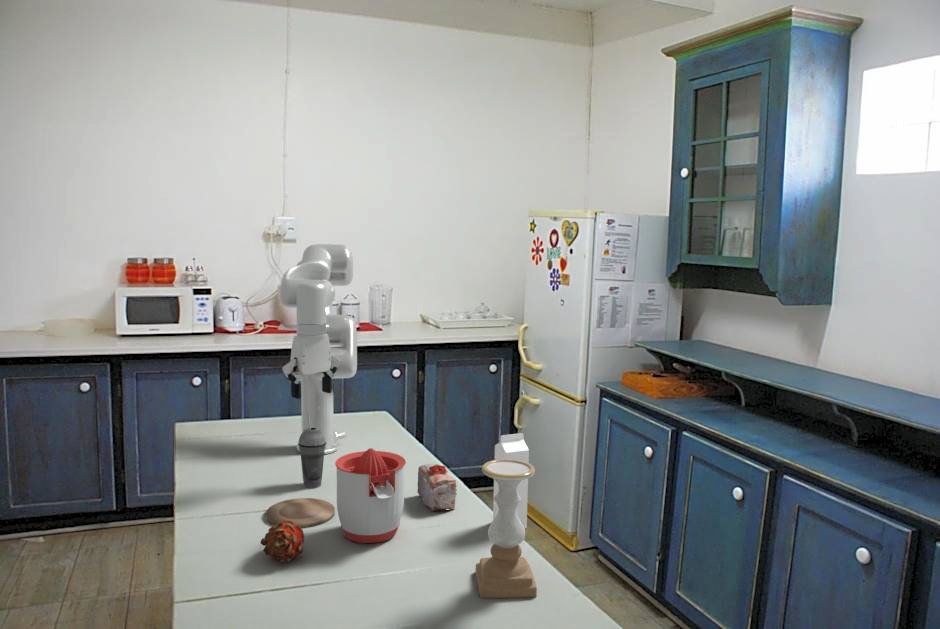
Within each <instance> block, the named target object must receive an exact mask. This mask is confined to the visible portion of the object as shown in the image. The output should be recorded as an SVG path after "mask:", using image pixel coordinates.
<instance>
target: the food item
mask: <svg viewBox="0 0 940 629" xmlns="http://www.w3.org/2000/svg"><path fill="white" fill-rule="evenodd" d="M417 471H418V472H417V493H418V495H419V496H420V497H421V498H422V504H423V503H424V504H425V505H424V504H423V505H424V506H426V507H427V508H430V510H431V511H434V510H444V511H447V510H446V509H450V510H449V511H451V510H452V509H454V510H455V507H456V498H457V480H456V479H454V478H453V477H452V476H451V475H450V474H449V473H448V472H449V471H448V470H447V468H446V466H445V465H440V464H437V463H426V464H422V465H420V466H419V467H418V470H417ZM452 511H453V510H452Z"/></svg>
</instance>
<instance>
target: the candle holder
mask: <svg viewBox="0 0 940 629" xmlns="http://www.w3.org/2000/svg"><path fill="white" fill-rule="evenodd" d="M481 470H482V473H483V474H484V475H485V476H487V477H488V478H491V479H493V480H494V479H495V480H496V482H497V483H498V485H499V491H498V493H497V495H496V496H495V497H494V496H493V499H494V500H495V502H497V505H498V507H499V511H498V514H497V515H496V517H495V519H494V520H493V519H492V522H491V523H490V525H489V526H488V530H487V536H488V538H489V541H491V543H492V546H490V554H491V557H481V558H480V559H479V563H478V562H477V563H476V564H475V571H474V572H475V579H476V584H477V591H478V594H479V598H481V599H515V598H516V599H519V598H521V599H526V598H536V597H537V594H538V593H537V592H538V590H537V589H538V587H537V584H536V580H535V578H534V575H533V572H532V568H531V567H530V563H528V561H527V559H526V557H525V556H524V557H523V556H522V553H523V550H522V548H521V546H520V544H522V543H523V542H524V540H525V538H526V530H525V529H526V528H524V527H523V525H522V523H521V521H520V520H519V518H518V516H517V513H516V508H517V506H518V503H520V502H521V498H520V496H519V495H518V493H517V486H518V484H519V483H520V482H521V480H524V479H528V480H529V478H531V477H533V476H534V474H535V472H536V470H535V467H534V466H533V464H531V463H530V462H529V463H527V462H524V461H520V460H514V459H498V460H495V459H493V460H490V461H487V462H484V464H483V465H482V467H481Z"/></svg>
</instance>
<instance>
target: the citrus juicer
mask: <svg viewBox="0 0 940 629" xmlns="http://www.w3.org/2000/svg"><path fill="white" fill-rule="evenodd" d="M406 463H407V462H406V458H404V457H403V456H402V455H400V454H397V453H395V452H394V453H393V452H389V451H384V450H382V451H380V450H376V449H374V448H372V447H370V448H368V449H367V450H364V451H356V452H350V453H348V454H344V455H342V456H340V457H338V458H336V461H335V464H334V465H335V466H336V467H335V468H336V509H337V515H338V519H339V522H340V527H341V530H342V532H343V535H344V536H345V537H346V538H347V539H348V540H350V541H353V542H356V543H358V544H374V543H380V542H384V541H388V540H390V539H392V538H393V537H395V535H396V534H397V532H398V529H399V526H400V524H401V519H402V515H403V511H404V506H405V465H406Z"/></svg>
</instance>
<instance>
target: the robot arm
mask: <svg viewBox="0 0 940 629" xmlns="http://www.w3.org/2000/svg"><path fill="white" fill-rule="evenodd" d="M353 277H354V259H353V255H352V252H351V249H350V248H349V247H348V246H346V245H345V244H333V243H332V244H331V243H330V244H329V243H328V244H326V243H325V244H324V243H316V244H311V245H309V246H307V247H306V248H305V250H304V251H303V253H302V258H301V260H300V261H299V262H297V264H296V265H295V266H293V267H291V268H289V269H288V270H286V271H285V272H284V273H283V276H282V278H281V281H280V287H279V297H280V298H279V299H280V302H281V304H282V305H283V306H284V307H286V308H294V309H295V308H296V335H294V336H293V339H292V343H291V344H292V345H291V348H290V349H291V350H290V351H291V352H290V360H289V362H288V363H286V364H285V365H283V366H282V368H281V370H282V372H283V375H285V379H287V380H288V382H289V383H290V386H291V387H290V388H291V390H290V394H291V398H294V399H296V400H300V399H301V401H300V402H301V403H300V404H301V406H300V407H301V408H300V409H301V434H302V433H303V431H305V430H306V429H308V428H309V425H308V417H307V412H308V411H309V418H310V426H311V428H317V429H319V430H321V431H322V432H323V434H324V436H325V440H326V446H325V451H324V455H328V454H333V453H334V452H336V451H337V450H339V443H338V442H337V441H339V439H340V440H341V439H345V438H346V437H347V435H346V432H345V431H342V432H336V431H334V392H333V389H332V387H333V386H332V385H333V382H332V381H333V379H350V378H354V377H355V375H356V373H357V369H358V338H357V323H356V322H355V321H356V320H355V319H354V318H353V316H350V315H347V314H333V302H334V301H335V298H336V289H335V287H338V286H339V287H342V286H348V285H350V284H351V283H352V282H353ZM296 451H297V452H298V453H300V449H299V445H298V444H297V445H296Z"/></svg>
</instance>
